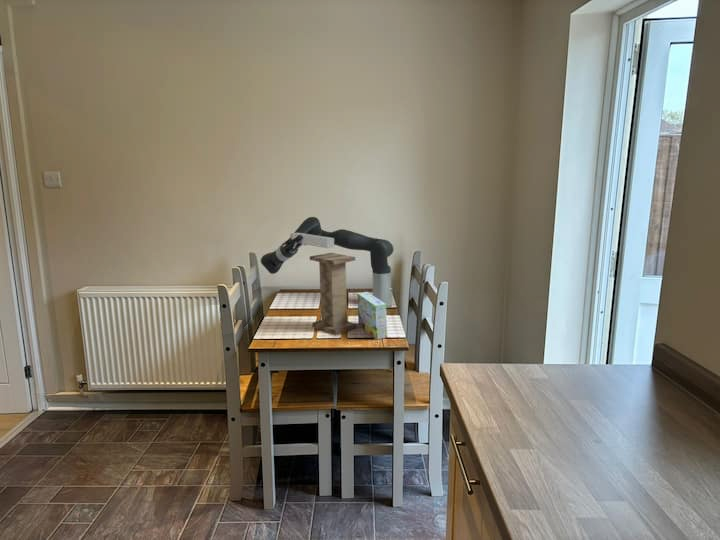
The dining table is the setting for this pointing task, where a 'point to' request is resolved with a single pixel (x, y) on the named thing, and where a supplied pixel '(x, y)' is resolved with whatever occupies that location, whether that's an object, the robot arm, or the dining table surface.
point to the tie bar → (314, 240)
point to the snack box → (372, 315)
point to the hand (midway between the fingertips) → (305, 236)
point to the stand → (333, 293)
